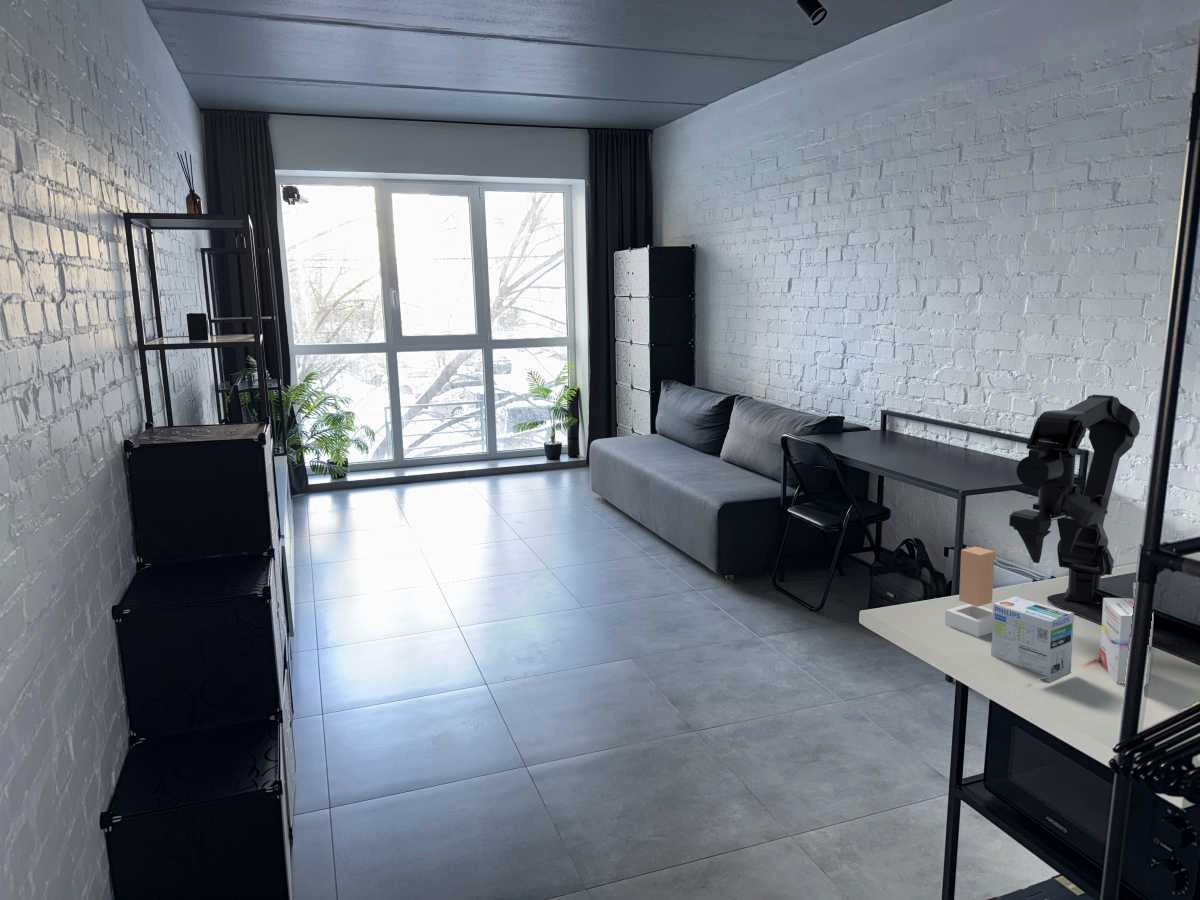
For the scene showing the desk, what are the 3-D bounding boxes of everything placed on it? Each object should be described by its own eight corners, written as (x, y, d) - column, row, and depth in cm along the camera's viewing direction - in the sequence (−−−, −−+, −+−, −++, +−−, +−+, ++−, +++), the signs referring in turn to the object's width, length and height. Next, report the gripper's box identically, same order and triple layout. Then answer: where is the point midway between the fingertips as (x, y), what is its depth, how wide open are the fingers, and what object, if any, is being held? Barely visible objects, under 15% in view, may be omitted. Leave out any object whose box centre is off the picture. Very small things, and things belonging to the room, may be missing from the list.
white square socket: (970, 617, 165) (971, 602, 164) (1004, 629, 159) (1004, 614, 158) (944, 625, 162) (945, 610, 161) (977, 637, 155) (978, 622, 155)
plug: (973, 596, 162) (975, 546, 160) (991, 602, 158) (994, 551, 157) (959, 600, 160) (961, 549, 158) (977, 606, 157) (979, 555, 155)
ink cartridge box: (1096, 661, 146) (1102, 579, 144) (1128, 663, 145) (1135, 580, 143) (1115, 684, 138) (1122, 597, 135) (1149, 686, 137) (1157, 598, 134)
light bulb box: (1072, 673, 142) (1076, 612, 140) (1048, 684, 139) (1052, 621, 137) (1012, 652, 151) (1015, 594, 149) (988, 662, 148) (991, 602, 146)
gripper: (1065, 493, 150) (1060, 578, 152) (1129, 479, 158) (1123, 560, 161) (1009, 482, 159) (1005, 562, 162) (1072, 470, 168) (1067, 546, 171)
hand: (1051, 558), depth 164 cm, fingers open, 9 cm apart
